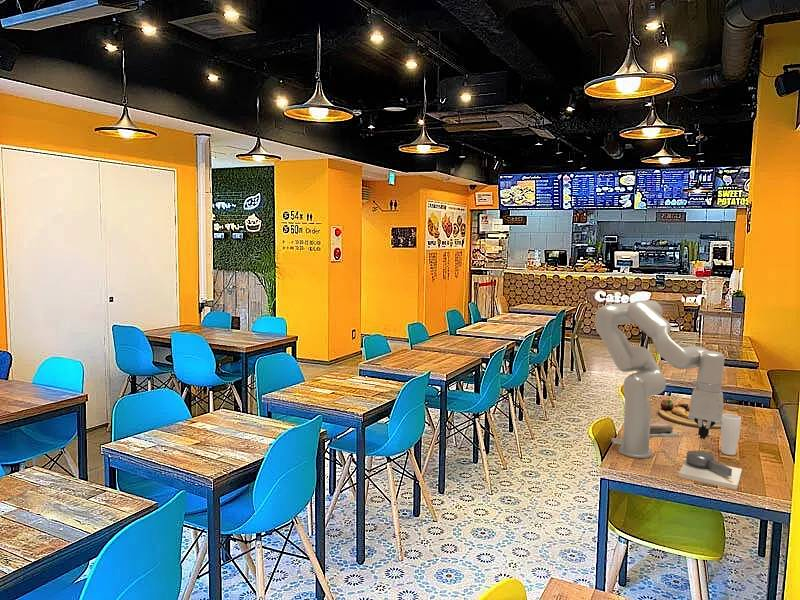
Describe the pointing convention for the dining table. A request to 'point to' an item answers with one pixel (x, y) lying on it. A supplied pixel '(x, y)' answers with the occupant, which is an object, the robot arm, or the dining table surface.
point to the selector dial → (706, 462)
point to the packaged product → (661, 430)
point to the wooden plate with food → (679, 414)
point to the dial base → (711, 476)
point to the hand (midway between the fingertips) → (702, 437)
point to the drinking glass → (730, 433)
